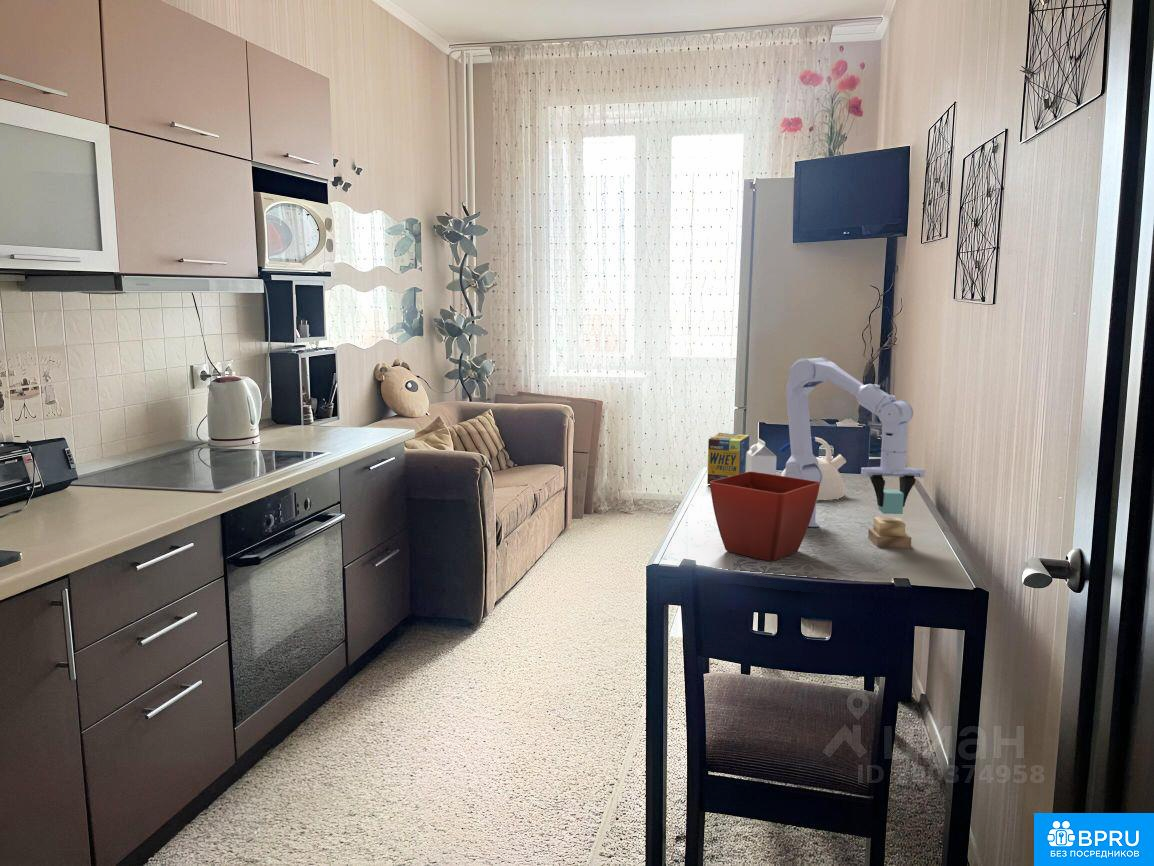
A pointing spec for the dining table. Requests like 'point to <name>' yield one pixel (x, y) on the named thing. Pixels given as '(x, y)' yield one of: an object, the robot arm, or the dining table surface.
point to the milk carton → (760, 459)
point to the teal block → (892, 502)
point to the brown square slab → (889, 539)
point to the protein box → (727, 455)
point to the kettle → (827, 473)
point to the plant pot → (763, 513)
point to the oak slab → (889, 526)
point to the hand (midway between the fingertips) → (890, 505)
